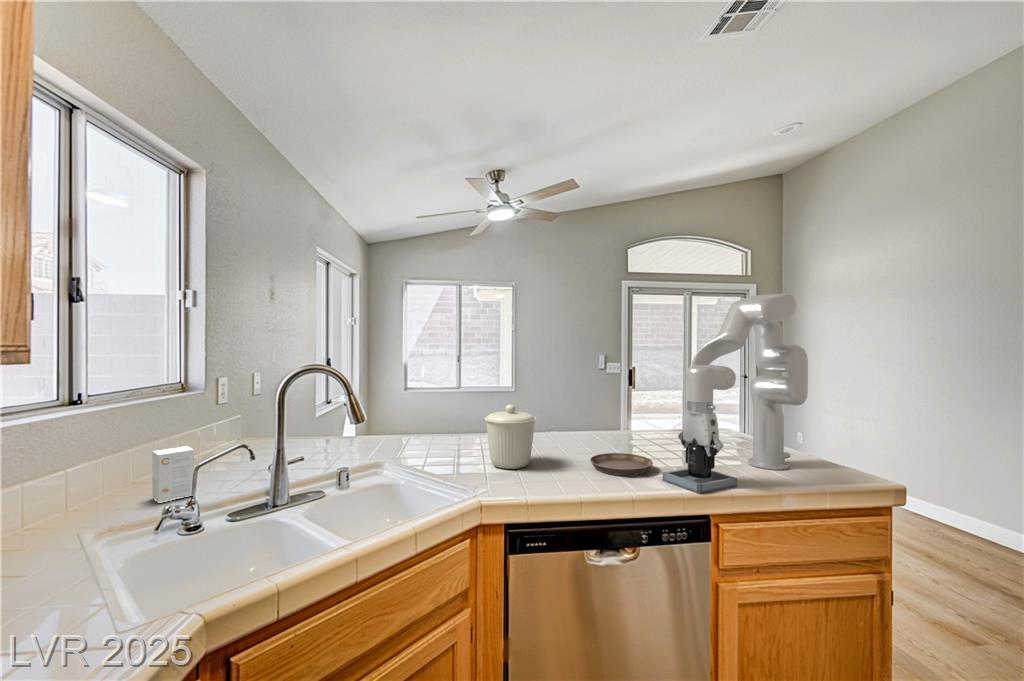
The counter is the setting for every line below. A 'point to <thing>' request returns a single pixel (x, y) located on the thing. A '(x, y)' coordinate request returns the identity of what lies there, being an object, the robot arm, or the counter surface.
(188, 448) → the small box
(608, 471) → the plant saucer
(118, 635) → the counter surface
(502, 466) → the canister
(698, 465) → the supplement bottle
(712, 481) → the tray
